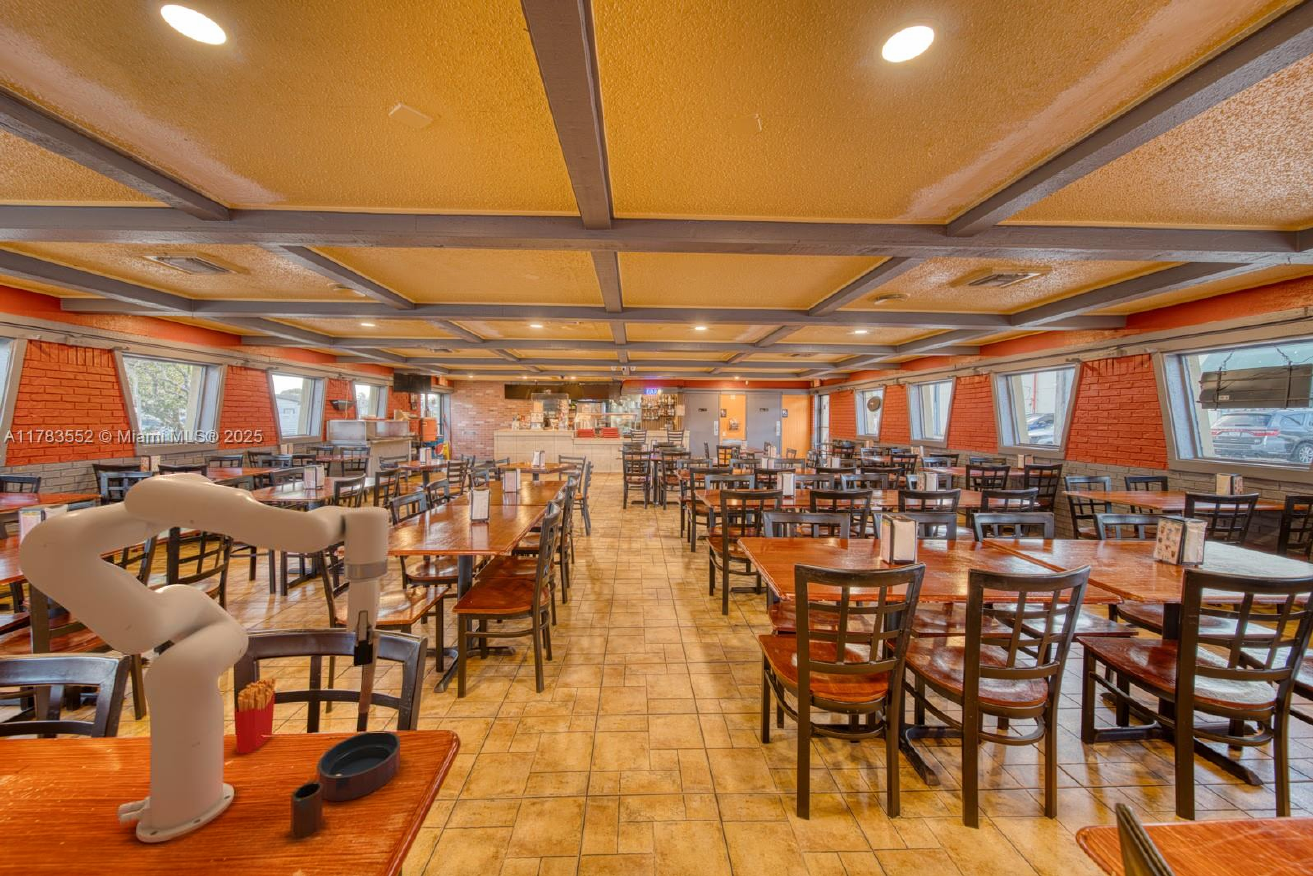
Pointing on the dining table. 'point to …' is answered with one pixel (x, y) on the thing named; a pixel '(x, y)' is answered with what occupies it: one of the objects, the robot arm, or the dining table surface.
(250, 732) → the french fries
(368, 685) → the stick
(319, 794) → the holder
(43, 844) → the dining table surface
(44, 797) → the dining table surface
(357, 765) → the bowl
